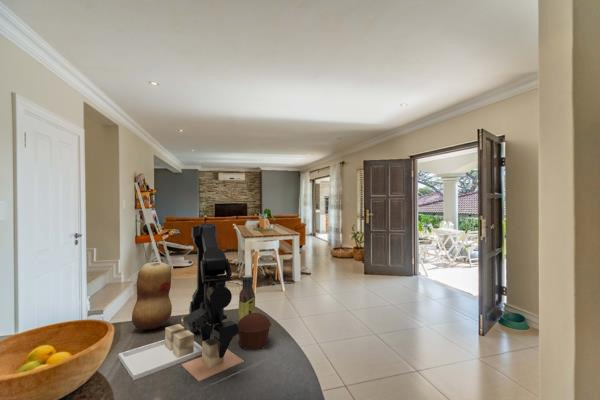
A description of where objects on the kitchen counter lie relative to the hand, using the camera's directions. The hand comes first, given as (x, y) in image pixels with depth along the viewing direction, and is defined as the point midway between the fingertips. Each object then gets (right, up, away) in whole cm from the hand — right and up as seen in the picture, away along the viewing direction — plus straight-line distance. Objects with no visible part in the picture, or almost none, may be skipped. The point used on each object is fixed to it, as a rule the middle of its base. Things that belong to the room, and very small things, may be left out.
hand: (213, 351), depth 83 cm
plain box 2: (-11, -3, +5) cm, 13 cm away
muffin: (+10, -5, +13) cm, 17 cm away
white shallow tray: (-17, -4, +4) cm, 18 cm away
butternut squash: (-31, -5, +25) cm, 40 cm away
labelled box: (0, -3, 0) cm, 3 cm away
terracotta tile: (0, -4, 0) cm, 4 cm away
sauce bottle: (+5, -5, +26) cm, 27 cm away
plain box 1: (-16, -4, +10) cm, 19 cm away
